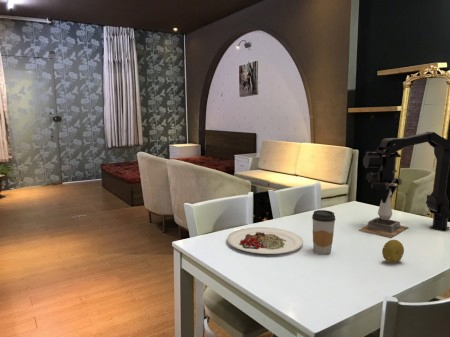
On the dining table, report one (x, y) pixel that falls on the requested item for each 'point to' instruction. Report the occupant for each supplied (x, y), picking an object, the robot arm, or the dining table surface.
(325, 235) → the coffee cup
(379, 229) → the brown tray
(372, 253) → the dining table surface
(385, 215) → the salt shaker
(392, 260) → the ochre rounded piece
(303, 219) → the dining table surface
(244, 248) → the plated food
